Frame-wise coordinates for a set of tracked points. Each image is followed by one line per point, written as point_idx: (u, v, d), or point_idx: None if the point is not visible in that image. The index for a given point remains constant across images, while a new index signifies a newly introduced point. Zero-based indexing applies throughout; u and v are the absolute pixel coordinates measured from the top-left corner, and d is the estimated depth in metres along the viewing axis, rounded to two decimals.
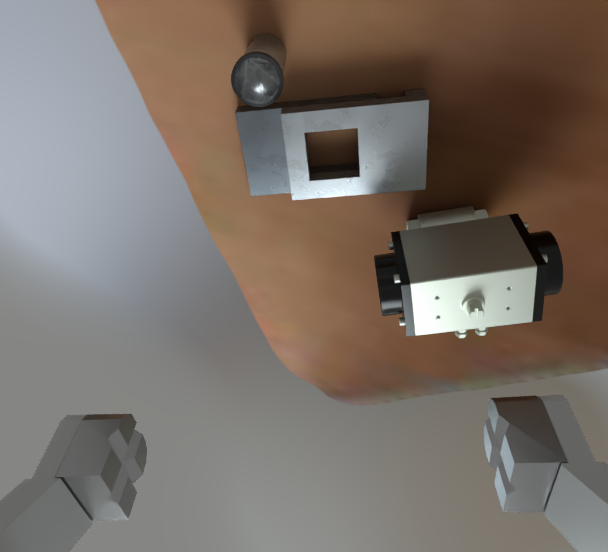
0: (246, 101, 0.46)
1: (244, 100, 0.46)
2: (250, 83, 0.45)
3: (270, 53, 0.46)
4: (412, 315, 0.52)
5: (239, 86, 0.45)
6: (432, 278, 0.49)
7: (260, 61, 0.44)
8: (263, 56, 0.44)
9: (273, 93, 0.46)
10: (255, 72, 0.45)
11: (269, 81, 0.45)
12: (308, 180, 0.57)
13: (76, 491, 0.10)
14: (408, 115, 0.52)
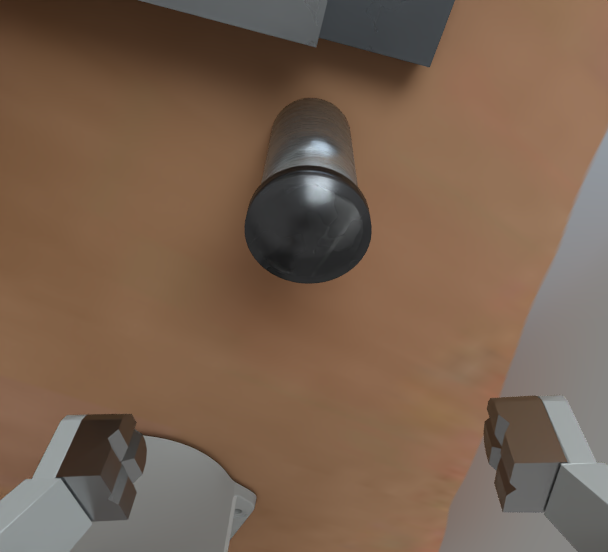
0: (354, 201, 0.18)
1: (358, 205, 0.18)
2: (325, 234, 0.18)
3: None
4: None
5: (353, 236, 0.19)
6: None
7: (284, 264, 0.19)
8: (272, 271, 0.20)
9: (279, 197, 0.18)
10: (303, 251, 0.19)
11: (279, 223, 0.18)
12: None
13: (76, 491, 0.10)
14: None
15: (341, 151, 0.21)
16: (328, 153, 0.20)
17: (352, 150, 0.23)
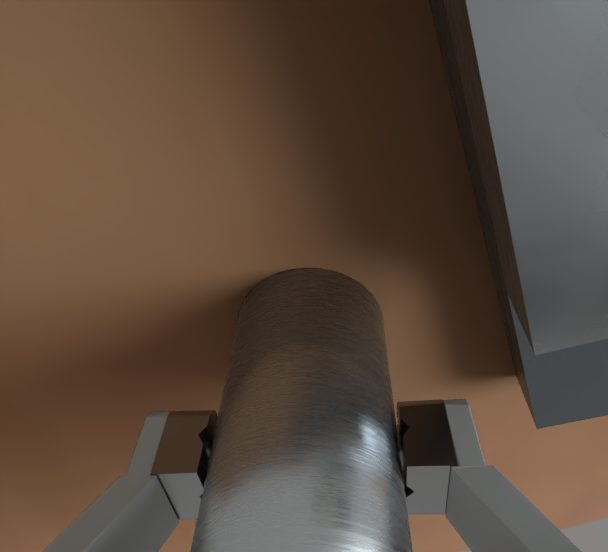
0: None
1: None
2: None
3: None
4: None
5: None
6: None
7: None
8: None
9: None
10: None
11: None
12: None
13: (169, 489, 0.10)
14: None
15: None
16: (412, 551, 0.09)
17: None
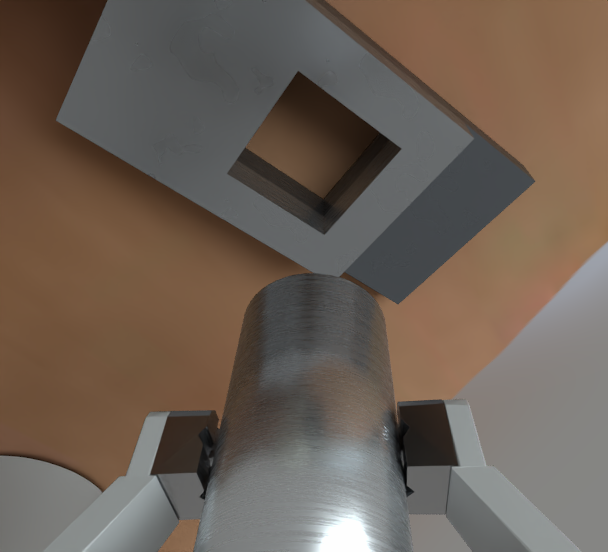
0: None
1: None
2: None
3: None
4: None
5: None
6: None
7: None
8: None
9: None
10: None
11: None
12: (402, 151, 0.22)
13: (169, 489, 0.10)
14: (112, 121, 0.22)
15: None
16: None
17: None
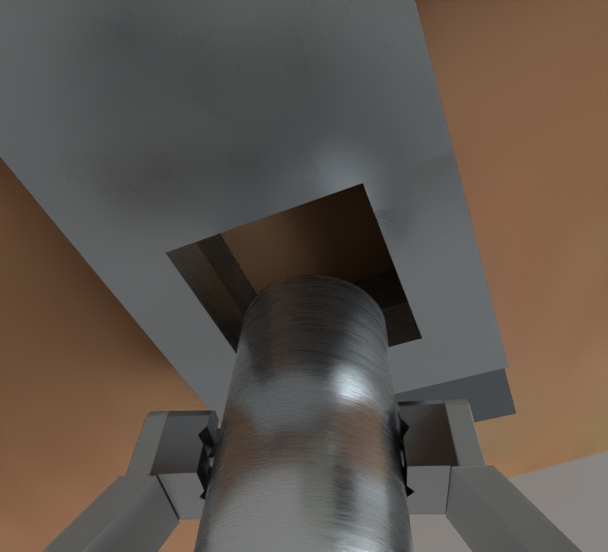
0: None
1: None
2: None
3: None
4: None
5: None
6: None
7: None
8: None
9: None
10: None
11: None
12: (420, 341, 0.16)
13: (169, 489, 0.10)
14: (5, 81, 0.11)
15: None
16: None
17: None
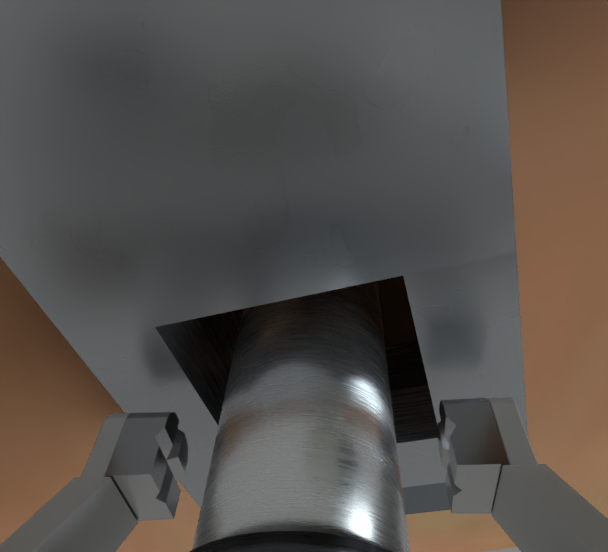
0: None
1: None
2: None
3: None
4: None
5: None
6: None
7: None
8: None
9: None
10: None
11: None
12: (437, 439, 0.14)
13: (124, 490, 0.10)
14: None
15: None
16: (400, 480, 0.10)
17: None
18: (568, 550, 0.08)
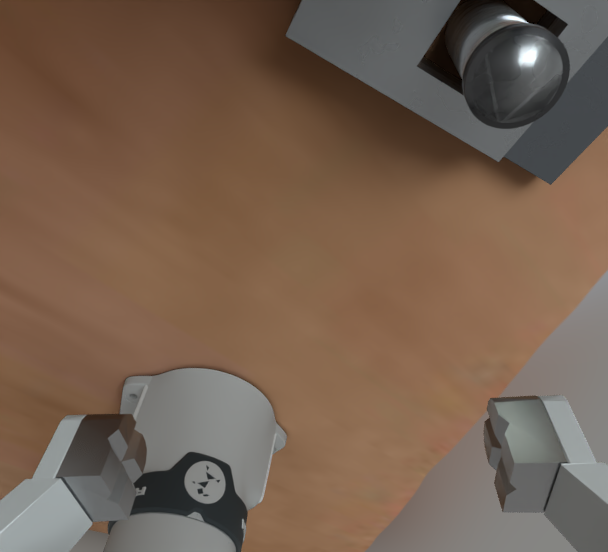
0: (563, 57, 0.23)
1: (565, 61, 0.23)
2: (529, 84, 0.24)
3: None
4: None
5: (550, 90, 0.24)
6: None
7: (485, 107, 0.24)
8: (474, 112, 0.25)
9: (508, 44, 0.23)
10: (506, 97, 0.24)
11: (497, 68, 0.23)
12: (568, 26, 0.27)
13: (76, 491, 0.10)
14: (329, 31, 0.28)
15: None
16: None
17: None
18: None
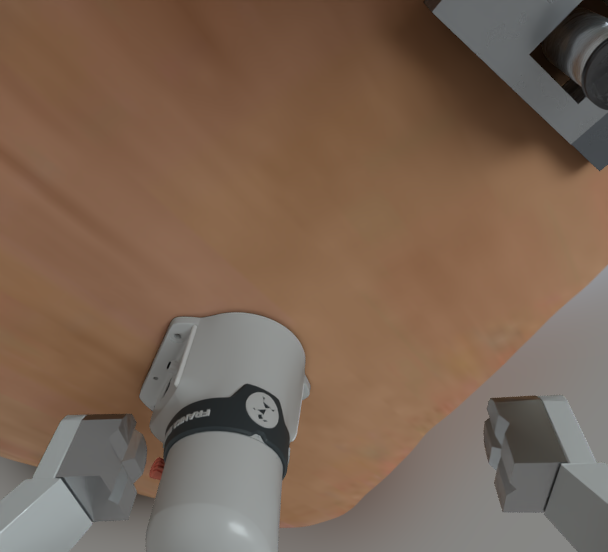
0: None
1: None
2: None
3: (575, 72, 0.33)
4: None
5: None
6: None
7: (599, 90, 0.31)
8: (589, 93, 0.31)
9: None
10: None
11: None
12: None
13: (76, 491, 0.10)
14: (468, 14, 0.34)
15: None
16: None
17: None
18: None
